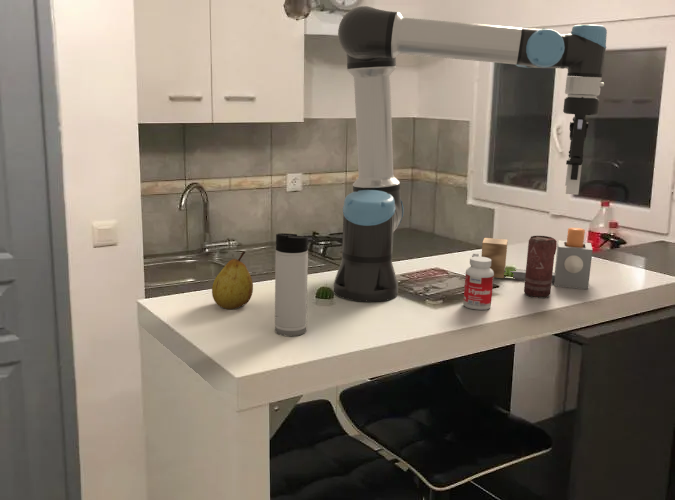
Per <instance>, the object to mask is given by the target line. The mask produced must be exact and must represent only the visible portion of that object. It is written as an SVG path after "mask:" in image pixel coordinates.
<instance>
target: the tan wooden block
mask: <svg viewBox="0 0 675 500" xmlns="http://www.w3.org/2000/svg"><path fill="white" fill-rule="evenodd" d="M508 240H509V239H505V238H503V239H502V238H492V237H484V238H483V240H482V243H481V244H482V246H481V256H480V257H487V258H490V259H491V267H490V268H491V269H492V270H493V272H494V279H495V278H496V279H505V278H504V271H505V268H506V265H507V254H508V253H507V252H508Z"/></svg>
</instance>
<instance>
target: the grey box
mask: <svg viewBox="0 0 675 500" xmlns="http://www.w3.org/2000/svg"><path fill="white" fill-rule="evenodd" d="M566 244H567V240H559V239H558V240H557V247H556V253H555V257H556V258H555V264H554V265H555V266H554V273H555V281H554V283H553V284H554V287H562V288H563V287H564V288H573V289H580V288H581V290H589V283H590V276H591V274H590V273H591V267H592V260H593V259H592V257H593V247H592V243H591V242H584V243H583V248H580V247H568V246H566Z"/></svg>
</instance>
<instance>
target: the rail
mask: <svg viewBox="0 0 675 500" xmlns="http://www.w3.org/2000/svg"><path fill="white" fill-rule="evenodd" d="M471 257H480V256H479V253H472V255H471ZM514 269H515V270H516V271H510V272H512V273H513V274H514V276H513V278H515V279H514V280H517V281H525V275H526V269H521V268H520V269H519V268H514ZM504 272H506V271H504ZM505 277H506V276H504V278H503V279H506V278H505ZM554 281H555V272H553V274H552V283H551V284H554Z"/></svg>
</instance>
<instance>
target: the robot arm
mask: <svg viewBox="0 0 675 500" xmlns="http://www.w3.org/2000/svg"><path fill="white" fill-rule="evenodd" d="M607 31H608V30H607V28H606V27H605V26H604V25H599V24H576V25H573V26H572V29H571V31H570V33H562V34H561V33H560V32H559V31H556V30H555V29H553V28H547V27H546V28H545V27H543V28H528V27H518V26H508V25H507V26H505V25H494V24H483V23H474V22H473V23H472V22H458V21H449V20H438V19H437V20H435V19H425V18H414V17H413V18H411V17H403V15H402V14H401V12H399V11H390V10H389V11H388V10H385V9H384V10H383V9H379V8H378V9H377V8H375V7H372V6H365V5H362V6H356V7H354V8H352V9H350V10H349V11H348V12H347V13H345V15H344V16H343V17H342V18H341V20H340V23H339V25H338V29H337V36H338V37H337V38H338V42H339V44H340V47H341V48H342V49H343V51H344V52H345V53H346V67H347V68H346V70H347V72H348V73H349V74H351V76H352V78H353V81H354V83H353V86H354V104H355V105H354V106H355V128H356V147H357V150H356V151H357V168H358V169H357V170H358V173H357V174H358V177H357V179H356V180H355V181H354V182H353V183H352V192H350V193H348V194H347V195H346V196H345V198H344V201H343V202H344V203H343V206H342V214H343V218H342V219H343V220H342V251H341V252H342V254H341V262H340V264H339V267H338V270H337V273H336V276H335V279H334V281H333V293H334V295H336V296H337V297H339V298H342V299H346V300H350V301H354V302H365V303H368V302H370V303H372V302H373V303H374V302H375V303H376V302H384V301H385V302H386V301H389V300H392V299H395V298H396V297H397V296H398V295H399V283H398V279H397V275H396V272H395V269H394V266H393V265H394V264H393V248H394V247H393V245H394V232H395V231H396V230H397V228H398V227H399V226H400V224H401V223H402V220H403V218H404V209H405V208H404V205H403V201H402V197H401V183H400V180H399V179H398V178H397V177H396V176H395V175H394V153H393V152H394V151H393V131H392V130H393V125H392V122H393V121H392V100H391V99H392V97H391V96H392V95H391V75H392V73H394V71H395V69H397V57H398V56H399V55H405V56H406V55H408V56H416V57H417V56H419V57H427V58H428V57H430V58H442V59H452V60H453V59H454V60H463V61H464V60H465V61H473V62H475V61H477V62H485V63H495V64H509V65H515V66H516V67H519V68H526V69H531V68H535V69H561V70H562V69H563V70H564V69H567V74H566V79H565V80H566V81H565V82H566V83H565V88H564V89H565V90H564V93H565V95H566V97H565V98H564V101H563V102H564V103H563V109H562V111H563V112H562V113H564V114H566V115H574V116H573V118H572V121H570V122H569V140H570V143H569V150H568V158H567V160H566V165H567V167H566V176H565V185H564V186H565V194H566V195H576V196H577V195H579V190H580V183H581V174H582V166H583V165H582V164H583V159H584V148H585V147H584V146H585V145H584V144H585V142H586V140H587V132H588V130H589V122H587V119H586V116H596V115H598V113H599V106H600V99H599V98H597V97H598V96H600V94H601V90H602V89H601V87H604V86H605V83H604V82H603V81H602V77H603V72H604V67H605V66H604V65H605V64H604V63H605V58H606V50H607V34H608V32H607Z"/></svg>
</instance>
